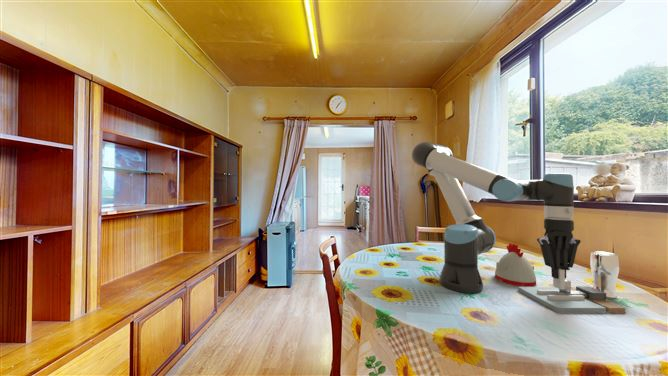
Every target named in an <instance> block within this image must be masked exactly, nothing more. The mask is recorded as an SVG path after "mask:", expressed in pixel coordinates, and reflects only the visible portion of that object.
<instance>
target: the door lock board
mask: <svg viewBox="0 0 668 376" xmlns="http://www.w3.org/2000/svg"><path fill="white" fill-rule="evenodd" d="M517 291H518V292H520V294H522V295H525V296H526V297H528V298H529V299H532V300H534V301H535V302H537V303H539V304H541V305H543V306H544V307H546V308H549V309H550V310H552V311H553V312H555V313H565V314H566V313H567V314H568V313H571V314H574V313H577V314H578V313H579V314H580V313H581V314H585V313H586V314H606V313H609V314H626V307H624V306H621V305H619V304H616V303H614V302H612V301H609V300H607V298H606V293H605V292H602V291H600V290H597V289H594V288H593V287H592V286H589V285H588V286H587V285H585V286H584V285H583V286H581V285H578V286H577V285H576V286H575V287H574V286H571V291H585V292H587V293H589V297H584V296H583V295H558V294H557V291H559V289H558V288H556V287H554V286H532V287H524V286H517Z"/></svg>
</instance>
